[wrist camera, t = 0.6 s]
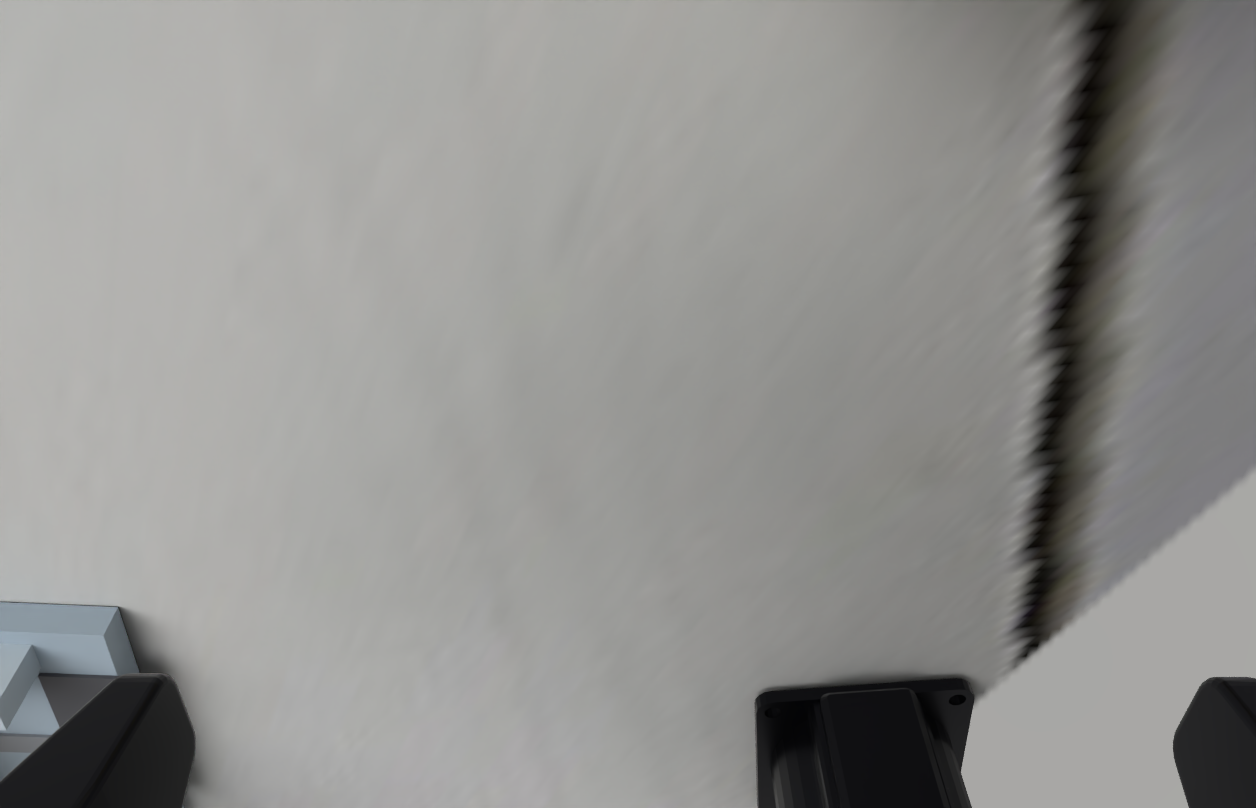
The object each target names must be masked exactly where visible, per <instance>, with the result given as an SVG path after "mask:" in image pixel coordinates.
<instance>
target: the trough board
mask: <svg viewBox="0 0 1256 808" xmlns="http://www.w3.org/2000/svg"><path fill="white" fill-rule="evenodd" d="M129 673H140V672H139V669H138V666H137V663H136V660H135V657H134V654H133V651H132V648H131V645H130V642H129V639H128V636H127V633H126V630H125V627H124V624H123V621H122V618H121V615H120V612H119V609H118V607H102V606H78V605H55V604H32V603H8V602H0V781H1V780H2V779H3V778H4V777H5V776H6V775H7V774H8V773H9V772H11V771H12V770H13V769H14V768H15V767H16V766H17V765H18V764H20V763H21V762H22V761H23V760H24V759H25V758H26V757H27V756H28V755H30V754H31V753H32V752H33V751H34V750H35V749H36V748H37V747H38V746H40V745H41V744H42V743H43V742H44V741H45V740H46V739H47V738H48V737H50V736H51V735H52V734H53V733H54V732H55V731H56V730H57V729H59V728H60V727H61V726H62V725H63V724H64V723H65V722H66V721H67V720H69V719H70V718H71V717H72V716H73V715H74V714H75V713H76V712H77V711H79V710H80V709H81V708H82V707H83V706H84V705H85V704H86V703H88V702H89V701H90V700H91V699H92V698H93V697H94V696H95V695H96V694H98V693H99V692H100V691H101V690H102V689H103V688H104V687H105V686H106V685H108V684H109V683H110V682H111V681H112V680H114V679H115V678H117V677H119V676H121V675H124V674H129ZM182 808H184V806H183V807H182Z"/></svg>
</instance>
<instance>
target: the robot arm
mask: <svg viewBox="0 0 1256 808" xmlns="http://www.w3.org/2000/svg"><path fill="white" fill-rule="evenodd" d="M973 703H974V694H973V691H972V688H971V686H970V683H969V682H968V681H966V680H964V679H957V678H954V679H940V680H926V681H911V682H897V683H883V684H869V685H855V686H841V687H826V688H812V689H798V690H784V691H771V692H765V693H763V694H761V695H759V696H758V697H757V698H756V700H755V736H756V775H757V806H758V808H972V807H971V804H970V800H969V797H968V794H967V791H966V788H965V785H964V782H963V779H962V775H961V767H962V762H963V757H964V751H965V746H966V740H967V735H968V729H969V725H970V719H971V714H972V709H973ZM1173 752H1174V759H1175V763H1176V766H1177V770H1178V773H1179V776H1180V779H1181V783H1182V786H1183V789H1184V792H1185V796H1186V799H1187V802H1188V806H1189V808H1256V679H1255V678H1249V677H1213V678H1209V679H1207V680H1206V681H1205V682H1203V683H1202V684H1201V686H1200V687H1199V689H1198V691H1197V693H1196V694H1195V696H1194V698H1193V700H1192V702H1191V704H1190V706H1189V707H1188V709H1187V711H1186V713H1185V715H1184V716H1183V718H1182V720H1181V722H1180V724H1179V726H1178V728H1177V730H1176V732H1175V735H1174V740H1173ZM194 756H195V733H194V729H193V726H192V723H191V721H190V718H189V716H188V713H187V710H186V708H185V705H184V703H183V700H182V697H181V695H180V692H179V690H178V687H177V684H176V683H175V681H174V679H173V678H171V677H170V676H169V675H168V674H163V673H129V674H124V675H121V676H119V677H117V678H115V679H114V680H112V681H111V682H110V683H109V684H108V685H106V686H105V687H104V688H103V689H102V690H101V691H100V692H99V693H98V694H96V695H95V696H94V697H93V698H92V699H91V700H90V701H89V702H88V703H86V704H85V705H84V706H83V707H82V708H81V709H80V710H79V711H77V712H76V713H75V714H74V715H73V716H72V717H71V718H70V719H69V720H67V721H66V722H65V723H64V724H63V725H62V726H61V727H60V728H59V729H57V730H56V731H55V732H54V733H53V734H52V735H51V736H50V737H48V738H47V739H46V740H45V741H44V742H43V743H42V744H41V745H40V746H38V747H37V748H36V749H35V750H34V751H33V752H32V753H31V754H30V755H28V756H27V757H26V758H25V759H24V760H23V761H22V762H21V763H20V764H18V765H17V766H16V767H15V768H14V769H13V770H12V771H11V772H9V773H8V774H7V775H6V776H5V777H4V778H3V779H2V780H1V781H0V808H182V807H183V803H184V798H185V794H186V790H187V786H188V782H189V778H190V773H191V769H192V765H193V761H194Z"/></svg>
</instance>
